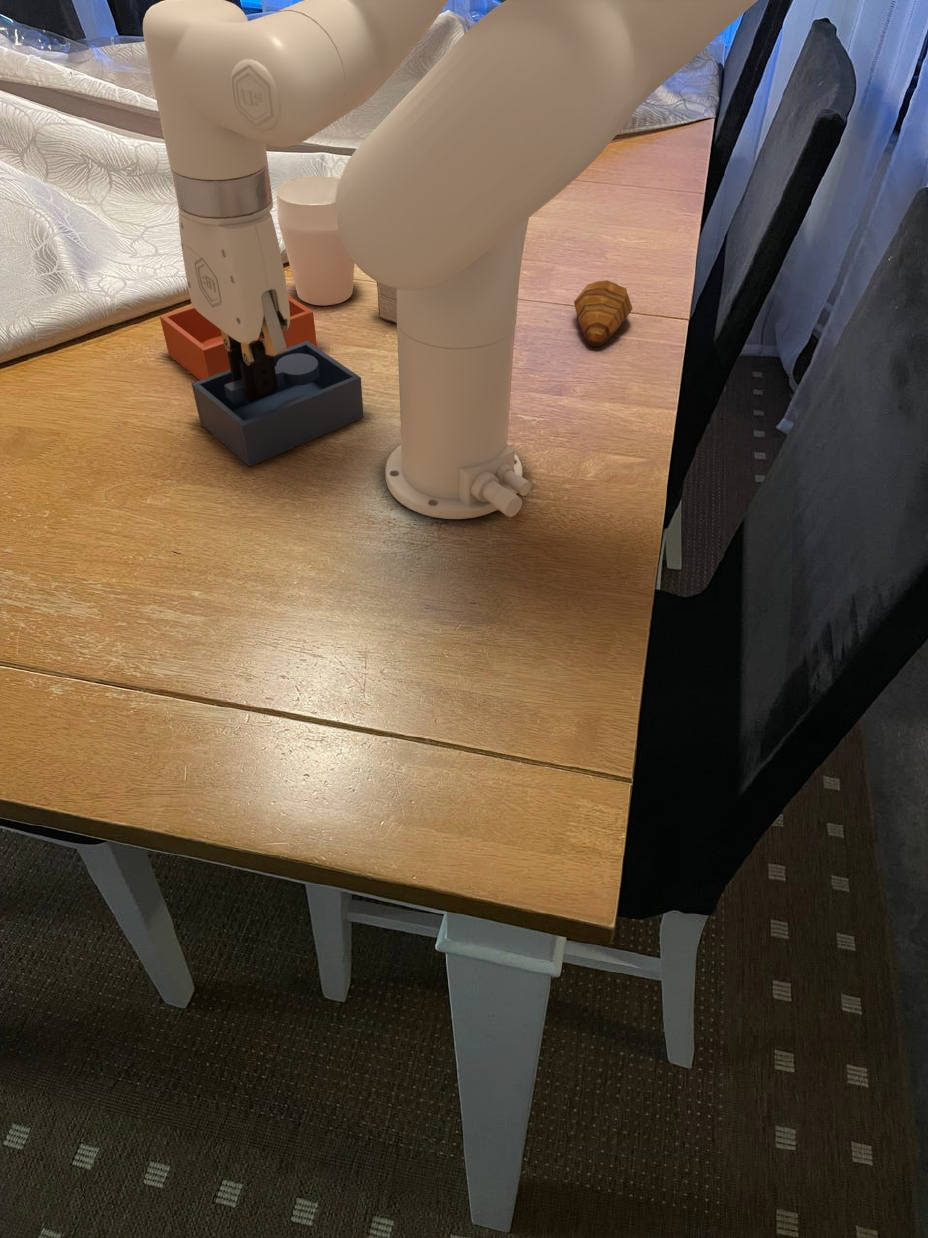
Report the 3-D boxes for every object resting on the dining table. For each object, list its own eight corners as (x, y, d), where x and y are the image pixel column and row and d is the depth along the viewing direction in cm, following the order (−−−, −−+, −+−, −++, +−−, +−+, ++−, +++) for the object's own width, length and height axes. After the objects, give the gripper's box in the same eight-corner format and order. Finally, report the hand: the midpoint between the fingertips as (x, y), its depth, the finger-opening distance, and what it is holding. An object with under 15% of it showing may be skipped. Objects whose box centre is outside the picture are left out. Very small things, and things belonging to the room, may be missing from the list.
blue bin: (363, 417, 88) (361, 377, 85) (249, 467, 82) (242, 425, 78) (311, 379, 93) (307, 340, 89) (200, 424, 86) (191, 383, 83)
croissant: (625, 354, 98) (632, 312, 94) (564, 347, 99) (569, 305, 95) (633, 300, 107) (640, 259, 103) (578, 293, 108) (583, 253, 104)
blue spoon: (241, 410, 81) (239, 397, 80) (219, 392, 83) (216, 379, 82) (327, 376, 85) (326, 363, 84) (304, 359, 87) (302, 346, 86)
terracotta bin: (317, 349, 97) (313, 311, 94) (211, 390, 91) (203, 350, 88) (272, 318, 102) (266, 281, 98) (168, 355, 96) (159, 316, 92)
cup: (331, 318, 102) (321, 212, 93) (272, 297, 105) (257, 193, 97) (377, 289, 107) (371, 186, 99) (319, 270, 111) (309, 169, 102)
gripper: (134, 169, 72) (180, 370, 85) (232, 231, 64) (266, 442, 77) (215, 150, 76) (247, 346, 89) (317, 207, 68) (336, 412, 81)
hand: (256, 389), depth 83 cm, fingers closed on blue spoon, 1 cm apart
